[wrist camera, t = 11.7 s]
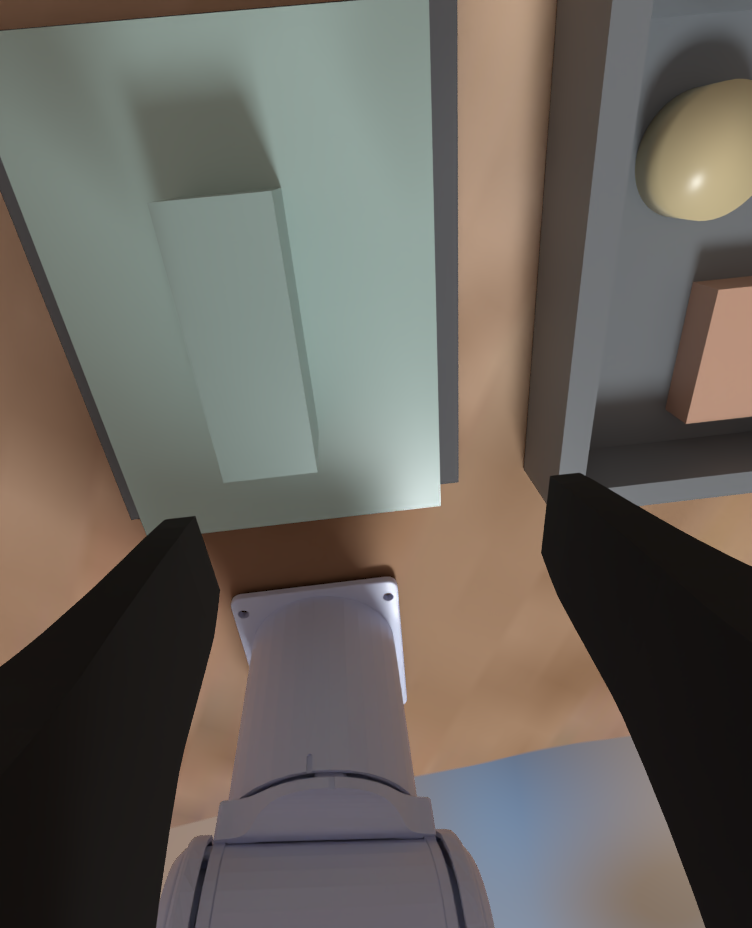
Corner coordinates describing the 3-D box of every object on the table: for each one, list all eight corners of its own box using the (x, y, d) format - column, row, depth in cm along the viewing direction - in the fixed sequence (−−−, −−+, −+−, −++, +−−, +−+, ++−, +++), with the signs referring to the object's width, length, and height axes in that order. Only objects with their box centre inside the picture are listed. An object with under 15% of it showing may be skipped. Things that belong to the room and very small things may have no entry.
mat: (456, 477, 22) (458, 482, 22) (134, 514, 22) (131, 519, 22) (454, -5, 14) (457, -10, 14) (-52, 38, 14) (-62, 35, 14)
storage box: (788, 439, 23) (858, 479, 20) (523, 469, 23) (554, 516, 19) (964, -49, 15) (1127, -106, 12) (558, -14, 15) (619, -63, 11)
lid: (435, 490, 22) (456, 552, 19) (156, 522, 22) (122, 592, 18) (421, 7, 14) (453, -50, 11) (-19, 45, 14) (-142, 0, 10)
